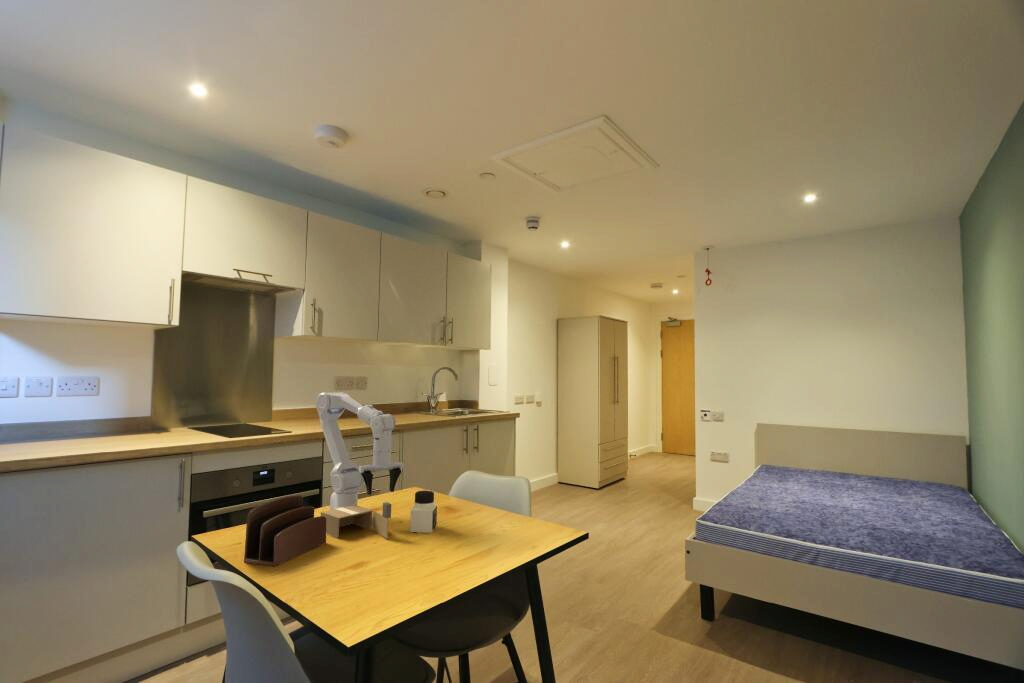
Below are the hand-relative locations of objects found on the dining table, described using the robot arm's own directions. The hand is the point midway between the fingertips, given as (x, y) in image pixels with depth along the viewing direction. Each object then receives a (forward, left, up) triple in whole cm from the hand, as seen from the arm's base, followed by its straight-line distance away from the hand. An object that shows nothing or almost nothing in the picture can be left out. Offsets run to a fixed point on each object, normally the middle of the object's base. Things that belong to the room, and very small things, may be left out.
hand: (380, 492), depth 162 cm
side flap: (+9, -6, -10) cm, 15 cm away
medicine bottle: (+15, +6, -10) cm, 19 cm away
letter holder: (+3, -32, -11) cm, 34 cm away
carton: (-2, -11, -10) cm, 15 cm away
